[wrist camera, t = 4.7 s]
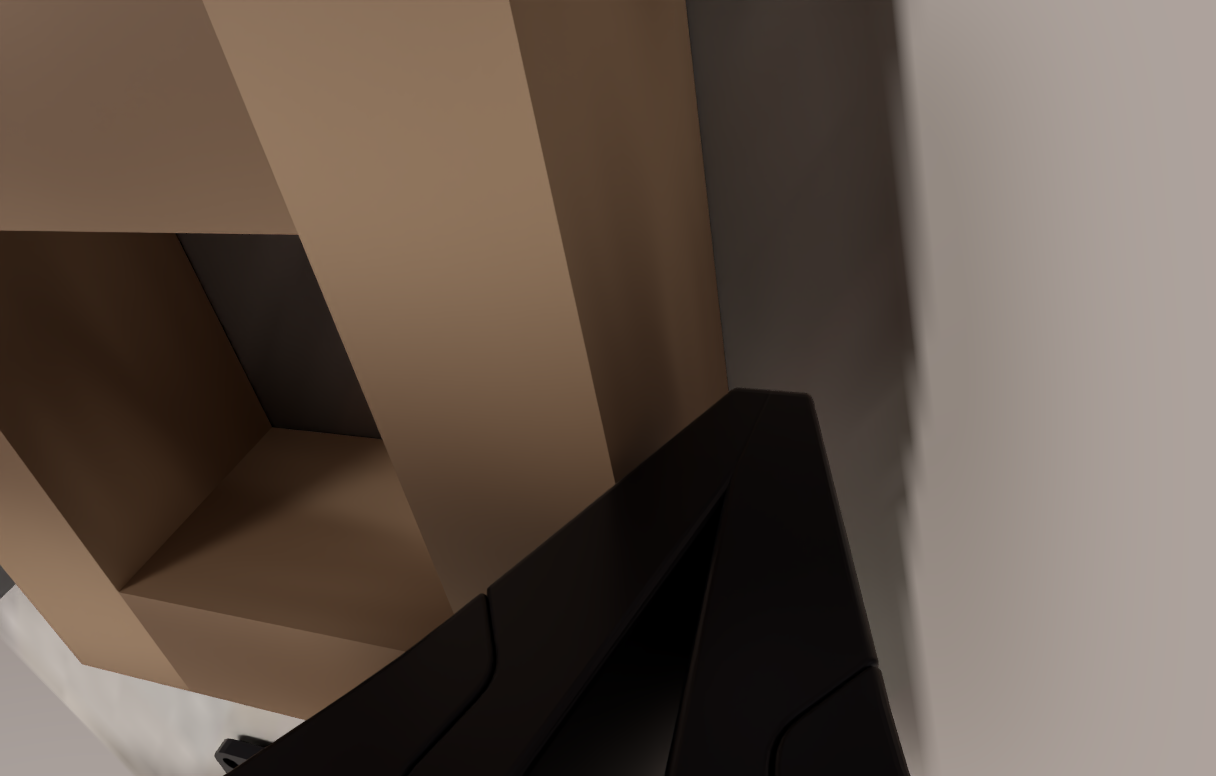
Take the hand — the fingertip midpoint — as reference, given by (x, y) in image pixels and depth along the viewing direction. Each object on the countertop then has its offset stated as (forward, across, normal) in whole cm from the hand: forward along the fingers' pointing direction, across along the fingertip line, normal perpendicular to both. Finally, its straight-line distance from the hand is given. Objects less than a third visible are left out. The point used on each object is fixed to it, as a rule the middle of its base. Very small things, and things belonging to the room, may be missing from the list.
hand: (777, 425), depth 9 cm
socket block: (+2, +6, 0) cm, 6 cm away
